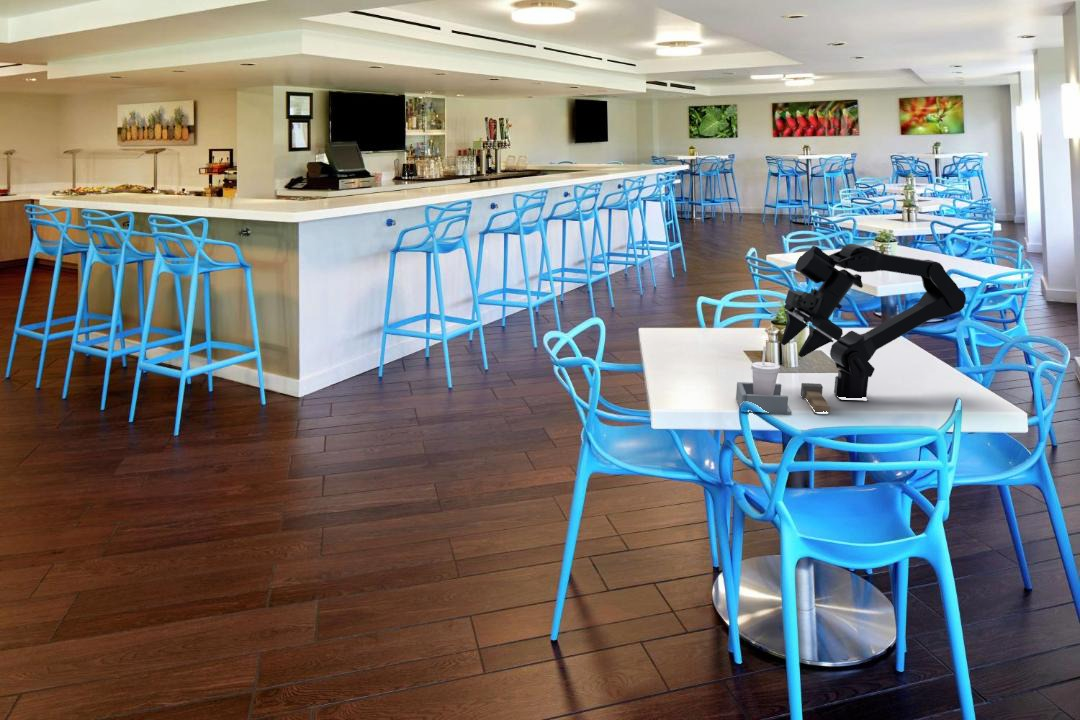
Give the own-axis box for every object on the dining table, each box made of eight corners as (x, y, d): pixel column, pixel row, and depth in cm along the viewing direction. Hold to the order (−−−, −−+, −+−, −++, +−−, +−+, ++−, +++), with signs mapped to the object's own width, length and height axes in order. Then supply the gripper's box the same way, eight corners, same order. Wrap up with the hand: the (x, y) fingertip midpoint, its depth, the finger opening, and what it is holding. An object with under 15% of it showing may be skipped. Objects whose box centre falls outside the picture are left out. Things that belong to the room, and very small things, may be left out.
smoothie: (748, 400, 199) (752, 342, 195) (776, 403, 197) (781, 344, 194) (747, 408, 193) (752, 349, 189) (777, 411, 191) (782, 351, 188)
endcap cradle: (783, 400, 199) (785, 383, 198) (791, 414, 189) (792, 397, 188) (736, 398, 200) (737, 382, 199) (741, 412, 190) (742, 395, 189)
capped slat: (800, 395, 203) (801, 383, 202) (819, 396, 202) (820, 383, 201) (811, 414, 189) (813, 400, 189) (832, 415, 189) (833, 401, 188)
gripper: (786, 267, 201) (748, 322, 204) (824, 285, 183) (782, 345, 186) (821, 290, 204) (783, 344, 207) (861, 310, 187) (819, 369, 189)
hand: (790, 350), depth 197 cm, fingers open, 9 cm apart
